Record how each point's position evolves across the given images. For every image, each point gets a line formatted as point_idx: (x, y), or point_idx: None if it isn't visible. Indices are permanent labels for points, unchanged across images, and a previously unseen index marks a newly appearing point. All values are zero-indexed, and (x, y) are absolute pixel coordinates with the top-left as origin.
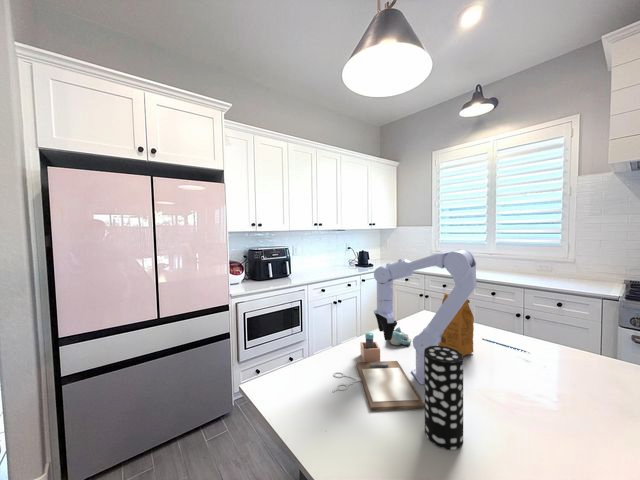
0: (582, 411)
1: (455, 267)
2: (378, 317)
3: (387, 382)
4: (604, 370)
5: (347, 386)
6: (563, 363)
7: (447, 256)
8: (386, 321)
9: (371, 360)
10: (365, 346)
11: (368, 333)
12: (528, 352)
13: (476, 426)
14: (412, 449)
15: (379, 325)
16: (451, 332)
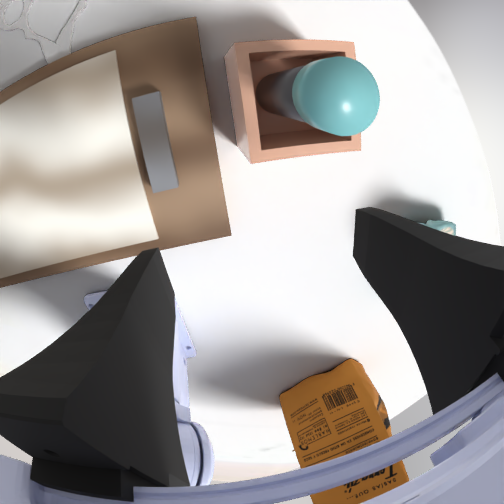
0: None
1: None
2: (464, 287)
3: (30, 185)
4: (241, 476)
5: (12, 27)
6: (258, 464)
7: None
8: (62, 462)
9: (231, 98)
10: None
11: (359, 91)
12: (294, 450)
13: (4, 354)
14: None
15: (393, 236)
16: (317, 442)
